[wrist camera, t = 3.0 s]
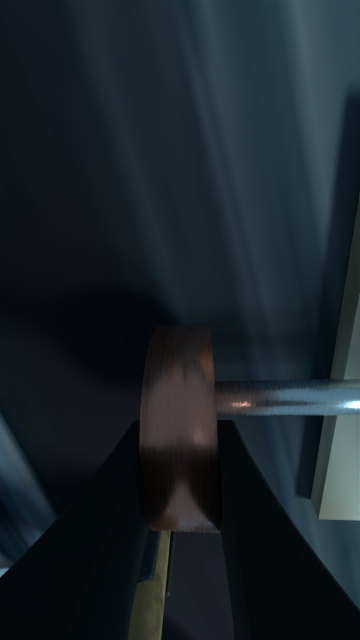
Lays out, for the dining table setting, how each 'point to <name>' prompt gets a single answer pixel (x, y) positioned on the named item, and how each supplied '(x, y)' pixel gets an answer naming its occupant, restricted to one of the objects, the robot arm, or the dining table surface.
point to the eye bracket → (342, 430)
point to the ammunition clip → (152, 586)
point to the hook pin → (207, 423)
